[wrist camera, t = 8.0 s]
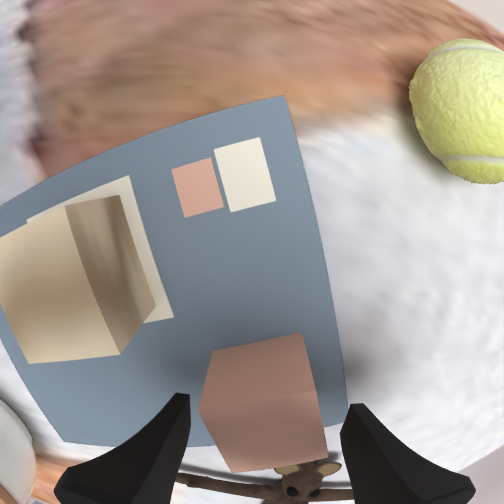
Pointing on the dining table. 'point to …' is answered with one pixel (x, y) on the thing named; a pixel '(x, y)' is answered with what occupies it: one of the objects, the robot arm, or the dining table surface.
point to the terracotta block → (263, 405)
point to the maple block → (74, 283)
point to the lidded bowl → (15, 458)
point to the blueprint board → (194, 269)
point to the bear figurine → (280, 485)
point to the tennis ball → (462, 108)
